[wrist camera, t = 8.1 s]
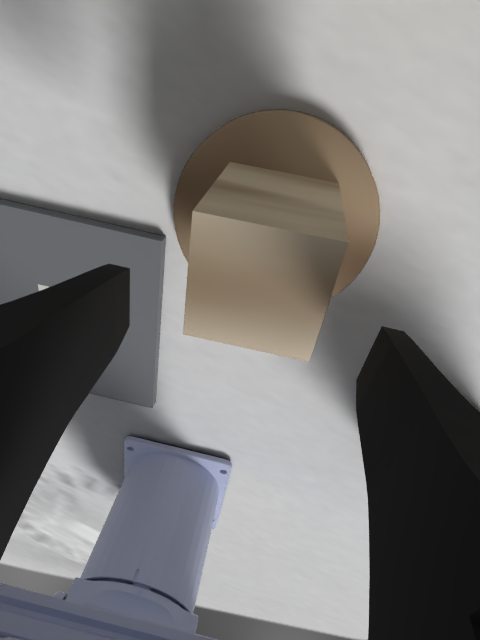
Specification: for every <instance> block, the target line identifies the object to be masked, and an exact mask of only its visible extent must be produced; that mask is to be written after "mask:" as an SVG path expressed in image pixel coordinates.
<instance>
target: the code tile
mask: <svg viewBox="0 0 480 640" xmlns="http://www.w3.org/2000/svg"><path fill="white" fill-rule="evenodd" d="M165 244H166V236H161V235H157V234H152V233H148V232H144V231H139V230H135V229H131V228H126V227H122V226H117V225H113V224H109V223H104V222H100V221H95V220H91V219H87V218H82V217H78V216H73V215H69V214H65V213H60V212H56V211H52V210H47V209H43V208H38V207H34V206H30V205H25V204H21V203H16V202H12V201H8V200H3V199H0V305H1V304H4V303H7V302H10V301H13V300H16V299H18V298H21V297H24V296H27V295H30V294H32V293H35V292H38V291H41V290H43V289H46V288H49V287H51V286H54V285H56V284H58V283H61V282H63V281H66V280H68V279H71V278H73V277H76V276H78V275H80V274H83V273H85V272H88V271H90V270H92V269H95V268H98V267H100V266H103V265H106V264H114V265H118V266H122V267H127V268H130V326H129V328H128V331H127V333H126V335H125V337H124V339H123V341H122V343H121V345H120V347H119V349H118V351H117V353H116V354H115V356H114V357H113V359H112V360H111V362H110V363H109V365H108V366H107V368H106V369H105V371H104V372H103V374H102V375H101V376H100V378H99V379H98V381H97V382H96V384H95V385H94V387H93V388H92V389H91V391H90V392H89V393H92V394H96V395H100V396H104V397H108V398H112V399H116V400H120V401H125V402H129V403H133V404H137V405H141V406H145V407H149V408H153V407H154V404H155V402H156V389H157V373H158V357H159V341H160V325H161V309H162V293H163V276H164V260H165Z"/></svg>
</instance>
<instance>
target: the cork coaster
mask: <svg viewBox="0 0 480 640" xmlns="http://www.w3.org/2000/svg"><path fill="white" fill-rule="evenodd" d="M230 162H234V163H239V164H244V165H249V166H254V167H259V168H264V169H270V170H275V171H280V172H285V173H290V174H295V175H300V176H305V177H311V178H316V179H321V180H326V181H331V182H336V183H339V186H340V192H341V198H342V204H343V210H344V216H345V222H346V228H347V234H348V240H349V244H348V247H347V250H346V253H345V256H344V259H343V262H342V265H341V268H340V271H339V274H338V277H337V280H336V283H335V286H334V289H333V292H332V295H331V298H332V297H334V296H335V295H336V294H338V293H339V292H341V291H342V290H343V289H344V288H346V287H347V286H348V285H349V284H350V283H351V282H352V281H353V280H354V279H355V278H356V276H357V275H358V274H359V273H360V272H361V270H362V269H363V267H364V266H365V264H366V263H367V261H368V259H369V257H370V255H371V253H372V251H373V248H374V245H375V242H376V239H377V235H378V230H379V224H380V204H379V195H378V191H377V187H376V184H375V181H374V178H373V176H372V173H371V171H370V169H369V166H368V164H367V162H366V161H365V159H364V157H363V156H362V154H361V153H360V151H359V150H358V149H357V147H356V146H355V145H354V144H353V143H352V141H351V140H350V139H349V138H347V137H346V136H345V135H344V134H343V133H342V132H341V131H340V130H338V129H337V128H335V127H334V126H332V125H331V124H329V123H328V122H325V121H323V120H321V119H319V118H317V117H315V116H312V115H308V114H305V113H302V112H297V111H290V110H266V111H259V112H254V113H251V114H247V115H244V116H241V117H239V118H237V119H235V120H233V121H230V122H228V123H227V124H225V125H224V126H222V127H221V128H219V129H218V130H216V131H215V132H214V133H213V134H211V135H210V136H209V137H208V138H207V139H206V140H205V141H204V142H203V143H201V144H200V146H199V147H198V148H197V149H196V150H195V152H194V153H193V154H192V155H191V157H190V159H189V160H188V162H187V164H186V165H185V167H184V169H183V171H182V174H181V176H180V178H179V182H178V185H177V189H176V193H175V200H174V223H175V230H176V234H177V238H178V242H179V245H180V247H181V250H182V252H183V254H184V256H185V258H186V260H187V262H188V263H189V250H190V237H191V224H192V211H193V210H194V208H195V207H196V206H197V204H198V203H199V202H200V200H201V199H202V198H203V197H204V195H205V194H206V193H207V191H208V190H209V189H210V187H211V186H212V185H213V183H214V182H215V181H216V180H217V178H218V177H219V176H220V174H221V173H222V172H223V170H224V169H225V168H226V166H227V165H228V164H229V163H230Z"/></svg>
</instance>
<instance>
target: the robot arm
mask: <svg viewBox="0 0 480 640" xmlns="http://www.w3.org/2000/svg"><path fill="white" fill-rule="evenodd" d="M129 326H130V268H127V267H122V266H118V265H114V264H106V265H103V266H100V267H98V268H95V269H92V270H90V271H88V272H85V273H83V274H80V275H78V276H76V277H73V278H71V279H68V280H66V281H63V282H61V283H58V284H56V285H54V286H51V287H49V288H46V289H43V290H41V291H38V292H35V293H32V294H30V295H27V296H24V297H21V298H18V299H16V300H13V301H10V302H7V303H4V304H1V305H0V560H1V557H2V555H3V553H4V551H5V548H6V546H7V544H8V542H9V540H10V537H11V535H12V533H13V531H14V529H15V527H16V524H17V522H18V520H19V518H20V516H21V514H22V512H23V510H24V508H25V506H26V504H27V502H28V500H29V497H30V495H31V493H32V491H33V489H34V487H35V485H36V483H37V481H38V479H39V478H40V476H41V474H42V472H43V470H44V468H45V466H46V464H47V462H48V460H49V458H50V456H51V454H52V452H53V451H54V449H55V447H56V445H57V443H58V441H59V440H60V438H61V436H62V434H63V432H64V430H65V429H66V427H67V425H68V424H69V422H70V420H71V419H72V417H73V416H74V414H75V412H76V411H77V410H78V408H79V407H80V405H81V404H82V402H83V401H84V399H85V398H86V397H87V395H88V394H89V392H90V391H91V389H92V388H93V387H94V385H95V384H96V382H97V381H98V379H99V378H100V376H101V375H102V374H103V372H104V371H105V369H106V368H107V366H108V365H109V363H110V362H111V360H112V359H113V357H114V356H115V354H116V353H117V351H118V349H119V347H120V345H121V343H122V341H123V339H124V337H125V335H126V333H127V331H128V328H129ZM356 411H357V419H358V427H359V434H360V441H361V448H362V455H363V462H364V469H365V476H366V483H367V493H368V510H369V553H370V589H369V634H368V640H480V413H479V412H478V411H477V410H476V409H475V408H474V407H473V406H472V405H471V404H470V403H469V402H468V401H467V400H466V399H465V398H464V397H463V396H462V395H461V394H460V393H459V392H458V391H457V389H456V388H455V387H454V386H453V385H452V384H451V383H450V382H449V381H448V380H447V379H446V378H445V376H444V375H443V374H442V373H441V372H440V371H439V370H438V369H437V367H436V366H435V365H434V364H433V363H432V362H431V361H430V359H429V358H428V357H427V356H426V355H425V354H424V353H423V351H422V350H421V349H420V348H419V347H418V346H417V345H416V344H415V342H414V341H413V340H412V339H411V338H410V337H409V336H408V335H407V334H406V333H405V332H404V331H399V330H395V329H391V328H386V327H381V330H380V332H379V334H378V336H377V338H376V340H375V342H374V344H373V346H372V348H371V351H370V353H369V355H368V357H367V359H366V361H365V363H364V365H363V367H362V369H361V371H360V374H359V376H358V378H357V387H356ZM231 468H232V463H231V462H230V461H229V460H226V459H222V458H218V457H214V456H210V455H206V454H202V453H198V452H194V451H189V450H185V449H181V448H177V447H173V446H169V445H165V444H161V443H157V442H153V441H149V440H145V439H141V438H136V437H132V436H129V437H126V439H125V441H124V481H123V483H122V486H121V488H120V490H119V492H118V495H117V497H116V499H115V501H114V504H113V506H112V508H111V510H110V512H109V515H108V517H107V519H106V521H105V524H104V526H103V528H102V530H101V533H100V535H99V537H98V539H97V542H96V544H95V546H94V548H93V551H92V553H91V555H90V557H89V560H88V562H87V564H86V566H85V569H84V571H83V573H82V575H81V578H75V580H74V582H73V584H72V586H71V589H70V591H69V593H68V595H67V594H65V593H63V592H56V593H55V594H54V595H53V596H48V595H44V594H40V593H37V592H33V591H29V590H25V589H21V588H17V587H13V586H9V585H6V584H2V583H0V640H217V639H213V638H209V637H205V636H202V635H198V634H195V632H196V627H197V622H198V616H197V615H195V614H193V612H194V607H195V603H196V598H197V593H198V589H199V584H200V580H201V575H202V570H203V566H204V561H205V557H206V552H207V547H208V543H209V538H210V534H211V529H214V528H215V527H216V524H217V520H218V517H219V513H220V509H221V505H222V502H223V498H224V494H225V490H226V487H227V483H228V479H229V475H230V472H231Z"/></svg>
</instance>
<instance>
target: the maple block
mask: <svg viewBox="0 0 480 640" xmlns="http://www.w3.org/2000/svg"><path fill="white" fill-rule="evenodd" d="M348 244H349V240H348V234H347V228H346V222H345V216H344V210H343V204H342V198H341V192H340V186H339V183H336V182H331V181H326V180H321V179H316V178H311V177H305V176H300V175H295V174H290V173H285V172H280V171H275V170H270V169H264V168H259V167H254V166H249V165H244V164H239V163H234V162H230V163H229V164H228V165H227V166H226V168H225V169H224V170H223V172H222V173H221V174H220V176H219V177H218V178H217V180H216V181H215V182H214V183H213V185H212V186H211V187H210V189H209V190H208V191H207V193H206V194H205V195H204V197H203V198H202V199H201V200H200V202H199V203H198V204H197V206H196V207H195V208H194V210H193V211H192V224H191V237H190V250H189V263H188V276H187V289H186V302H185V315H184V328H183V334H184V335H189V336H193V337H198V338H202V339H207V340H212V341H216V342H221V343H225V344H230V345H235V346H239V347H244V348H248V349H253V350H258V351H262V352H267V353H271V354H276V355H281V356H285V357H290V358H294V359H299V360H304V361H308V362H309V361H310V358H311V355H312V352H313V349H314V346H315V343H316V340H317V337H318V334H319V331H320V328H321V325H322V322H323V319H324V316H325V313H326V310H327V307H328V304H329V301H330V298H331V295H332V292H333V289H334V286H335V283H336V280H337V277H338V274H339V271H340V268H341V265H342V262H343V259H344V256H345V253H346V250H347V247H348Z"/></svg>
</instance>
